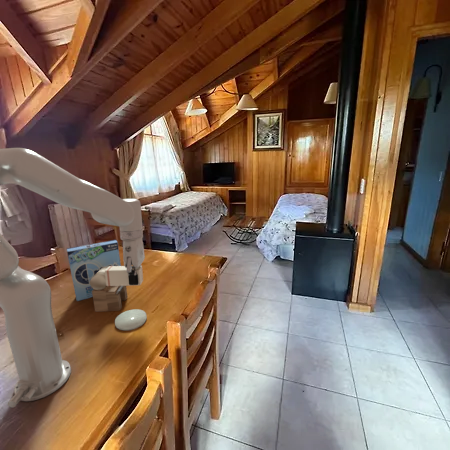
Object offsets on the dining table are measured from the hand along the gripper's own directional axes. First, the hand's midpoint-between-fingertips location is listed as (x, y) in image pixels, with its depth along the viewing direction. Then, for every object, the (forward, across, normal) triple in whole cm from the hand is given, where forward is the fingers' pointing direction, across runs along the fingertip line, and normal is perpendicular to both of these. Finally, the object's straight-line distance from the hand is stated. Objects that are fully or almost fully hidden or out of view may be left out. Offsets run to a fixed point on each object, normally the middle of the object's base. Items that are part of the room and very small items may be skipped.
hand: (135, 281), depth 93 cm
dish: (+15, -3, +2) cm, 15 cm away
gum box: (+15, +19, +22) cm, 33 cm away
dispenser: (+14, +9, +13) cm, 22 cm away
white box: (+1, 0, +4) cm, 4 cm away
